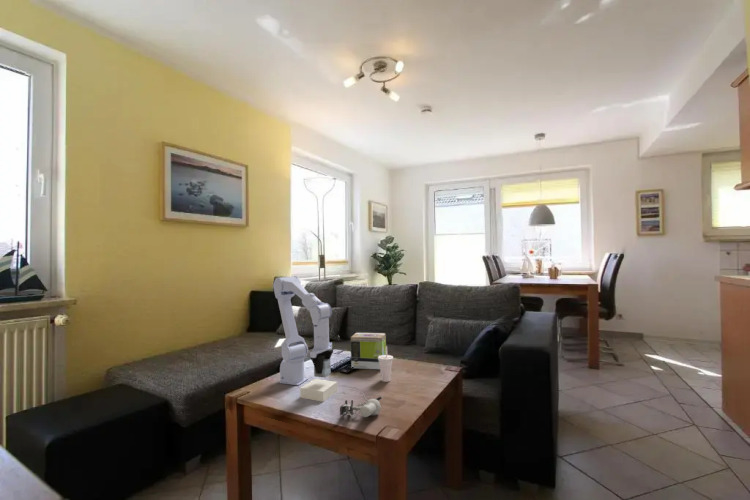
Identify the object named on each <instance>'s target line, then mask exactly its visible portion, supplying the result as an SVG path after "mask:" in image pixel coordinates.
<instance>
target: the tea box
mask: <svg viewBox="0 0 750 500" xmlns="http://www.w3.org/2000/svg"><path fill="white" fill-rule="evenodd" d="M386 336H387V335H386V332H355V333H354V334H353V335H352V336H350V363H351V366H350V367H351V368H352V367H354V368H353V369H360V370H361V369H362V370H363V369H364V370H380V366H379V360H378V357H379V356H380V355H386V346H387V337H386Z"/></svg>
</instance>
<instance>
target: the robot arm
mask: <svg viewBox="0 0 750 500" xmlns="http://www.w3.org/2000/svg"><path fill="white" fill-rule="evenodd" d="M272 286H273V287H272V288H273V293H274V296H275V299H277V303H278V308H279V311H280V312H279V313H280V316H281V322H282V326H283V330H284V334H285V339H284V340H283V341H282V343H281V344H280V347H281V357H282V360H281V363H280V365H279V366H280V367H279V379H280V380H279V384H283V385H293V386H300V385H302V384H303V383H304V382H306V381H307V380H309V377H306V376H305V359H306V357H307V356H308V353H309V358H310V360H311V362H312V364H313V368H314V367H315V371H316V374H322V370H323V362H324V359H330V360H331V358H332V355H333V353H334V349H333V342H332V341H331V342H330V326H329V325H330V321H329V320H330V319H329V318H331V316H332V315H333V314H332V313H333V310H332V306H331V305H330V304H329V303H327V302H326V303H325V302H322V300H320V299H319V298H318V297H317V296H316V295H315V293H314V292H313V293H312V292H309V291H307V290H306V289H305V287H303V285H302V284H301V279H300V278H299V277H298V276H297V275H294V276H285V277H284V276H283V277H276V278H275V279H274V281H273V284H272ZM295 295H296V296H298V297H299V298H300V299H301V304H302V305H303V306H304V307H305V308H306V309H307V310H308V312H309V314H310V318H311V322H312V325H313V348H312V350H311V351H310V352H309V347H308V345H307V343H306V341H305V338H304V337H302V336H301V335H299V332H298V328H297V323H296V318H295V314H294V311H293V305H292V301H291V300H292V298H293V297H294V296H295Z"/></svg>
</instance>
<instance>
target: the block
mask: <svg viewBox="0 0 750 500" xmlns="http://www.w3.org/2000/svg"><path fill="white" fill-rule="evenodd" d="M331 368H332V367H331V358H330V359H324V362H323V370H322V374H316V371H315V367H314V366H313V370H314V371H313V376H314V377H315V378H316V377H318V378H324V379H325V378H327V377H328V376H329V375H330V374H332V373H331V371H332V370H331Z"/></svg>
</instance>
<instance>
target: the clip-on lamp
mask: <svg viewBox="0 0 750 500" xmlns="http://www.w3.org/2000/svg"><path fill="white" fill-rule="evenodd" d="M360 393H361V395H362V396H363V398H364V400H365V401H366V402H365V404H364V403H363V402H361V403H360V404H359V406H354V400H353V399H351V402H350V404H348V400H347V399H345V401H344V402H345V403H343V404H342V405H340V406H339V415H340V416H343V415H349V416H350V417H351V418H352V419H353V420H355V418H356V413H357V412H358V411H359V413H360V415H361V417H363V418H368V417H369V416H376V415H378V414H379V413H380V412H381V409H382V408H381V406H382V405H381V403H380V401H379V400H381V399H383V398H384V396H379V397H377V398H370V399H368V398H367V397H366V395H365V394H364V393H363V392H362V391H360Z"/></svg>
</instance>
